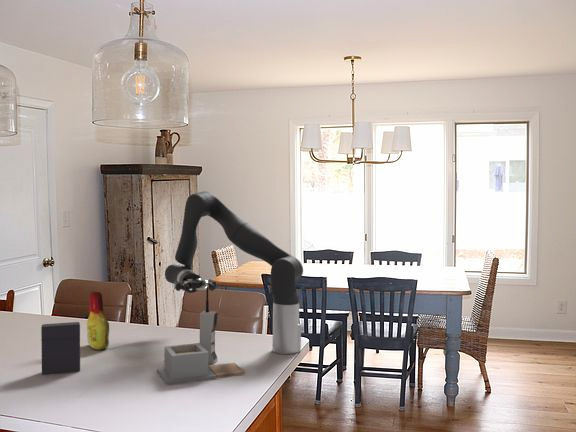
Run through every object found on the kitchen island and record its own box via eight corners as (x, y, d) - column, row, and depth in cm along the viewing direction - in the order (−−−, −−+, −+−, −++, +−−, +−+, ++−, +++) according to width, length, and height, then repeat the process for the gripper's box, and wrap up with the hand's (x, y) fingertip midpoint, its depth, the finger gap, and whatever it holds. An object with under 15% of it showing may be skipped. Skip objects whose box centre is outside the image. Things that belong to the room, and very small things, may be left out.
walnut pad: (234, 364, 188) (234, 362, 188) (244, 374, 178) (244, 371, 178) (207, 368, 184) (207, 365, 184) (216, 377, 175) (216, 375, 175)
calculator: (79, 368, 182) (79, 321, 182) (80, 372, 178) (80, 324, 178) (42, 371, 178) (41, 323, 178) (41, 375, 174) (41, 326, 174)
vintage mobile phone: (213, 364, 188) (214, 288, 187) (199, 363, 189) (199, 287, 188) (217, 361, 192) (218, 286, 190) (203, 360, 193) (203, 285, 191)
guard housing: (203, 365, 186) (203, 341, 186) (216, 379, 174) (216, 352, 173) (156, 371, 180) (157, 345, 180) (166, 385, 168) (166, 358, 167)
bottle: (82, 345, 208) (82, 290, 207) (99, 342, 212) (99, 288, 211) (94, 352, 199) (94, 295, 198) (112, 349, 203) (112, 293, 202)
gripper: (169, 271, 210) (180, 278, 195) (207, 270, 216) (220, 276, 201) (169, 292, 210) (180, 300, 196) (207, 289, 216) (220, 298, 201)
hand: (200, 288), depth 198 cm, fingers open, 8 cm apart
